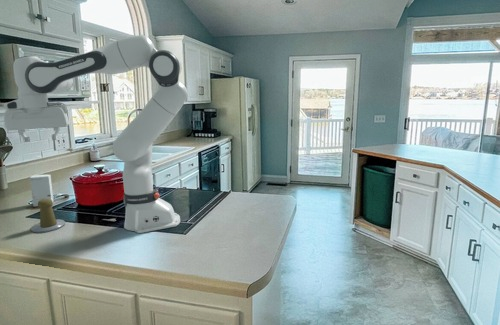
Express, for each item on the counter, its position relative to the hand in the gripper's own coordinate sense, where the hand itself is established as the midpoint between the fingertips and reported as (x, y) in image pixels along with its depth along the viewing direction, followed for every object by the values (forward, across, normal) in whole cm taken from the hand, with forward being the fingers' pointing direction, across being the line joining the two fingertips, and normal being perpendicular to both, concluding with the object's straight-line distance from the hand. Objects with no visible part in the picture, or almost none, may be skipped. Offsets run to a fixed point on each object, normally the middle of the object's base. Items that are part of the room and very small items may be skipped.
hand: (41, 140), depth 120 cm
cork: (+36, +6, -8) cm, 37 cm away
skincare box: (+36, +19, -42) cm, 59 cm away
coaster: (+37, +6, -8) cm, 38 cm away
